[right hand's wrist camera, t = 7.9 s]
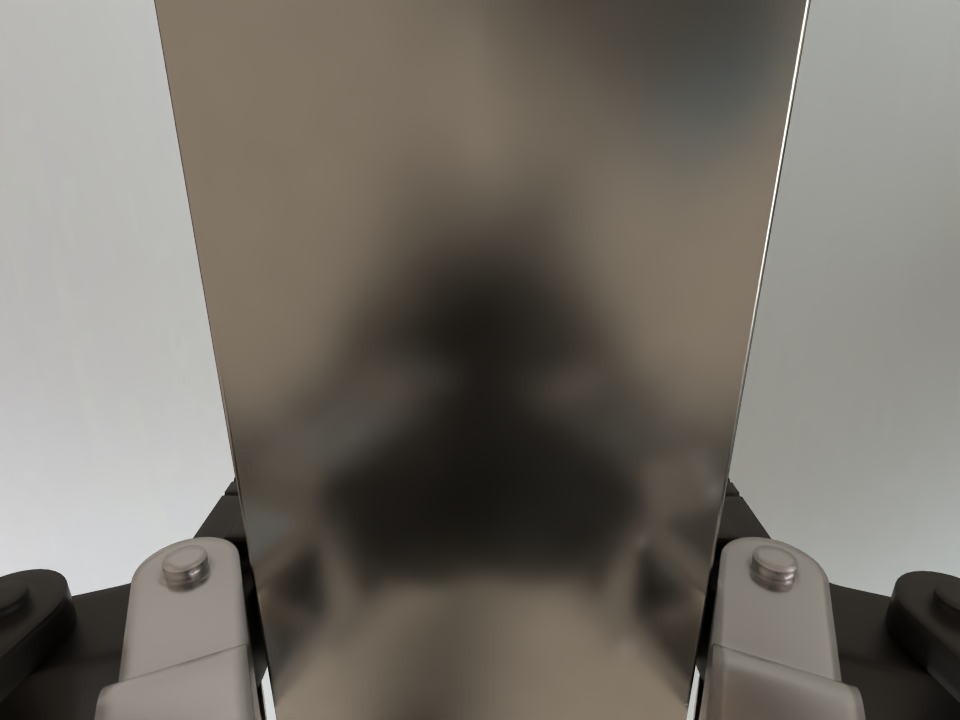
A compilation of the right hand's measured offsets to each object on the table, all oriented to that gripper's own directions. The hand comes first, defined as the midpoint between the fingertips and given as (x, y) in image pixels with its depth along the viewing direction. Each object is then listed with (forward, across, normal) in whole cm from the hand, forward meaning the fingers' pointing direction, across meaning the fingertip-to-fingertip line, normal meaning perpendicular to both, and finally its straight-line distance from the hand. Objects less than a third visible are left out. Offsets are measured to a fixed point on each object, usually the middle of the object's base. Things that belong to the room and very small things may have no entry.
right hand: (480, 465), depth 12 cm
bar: (+4, 0, -8) cm, 9 cm away
